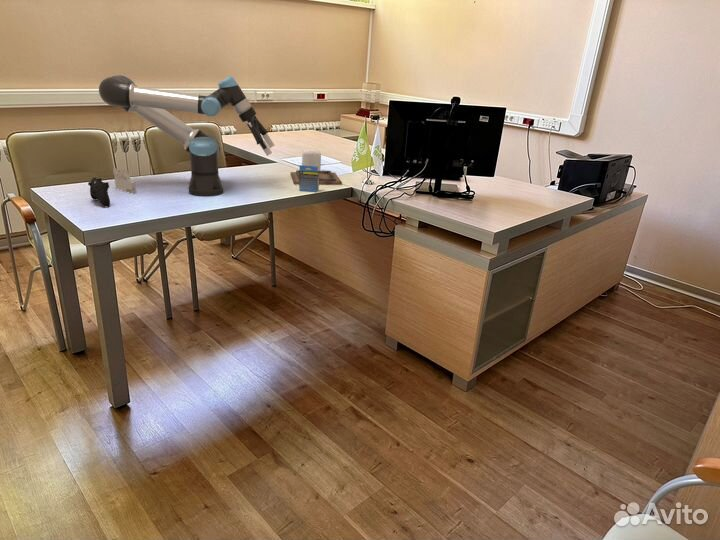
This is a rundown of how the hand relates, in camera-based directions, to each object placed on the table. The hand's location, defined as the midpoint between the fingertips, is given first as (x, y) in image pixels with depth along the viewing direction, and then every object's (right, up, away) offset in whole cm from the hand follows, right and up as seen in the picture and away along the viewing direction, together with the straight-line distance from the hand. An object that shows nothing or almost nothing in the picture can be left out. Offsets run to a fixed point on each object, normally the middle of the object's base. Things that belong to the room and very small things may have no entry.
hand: (271, 150), depth 240 cm
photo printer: (+15, -3, +39) cm, 42 cm away
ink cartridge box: (-61, -22, -17) cm, 67 cm away
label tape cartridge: (+18, -19, +2) cm, 26 cm away
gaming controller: (-63, -30, -36) cm, 78 cm away
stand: (+19, -10, +23) cm, 31 cm away
